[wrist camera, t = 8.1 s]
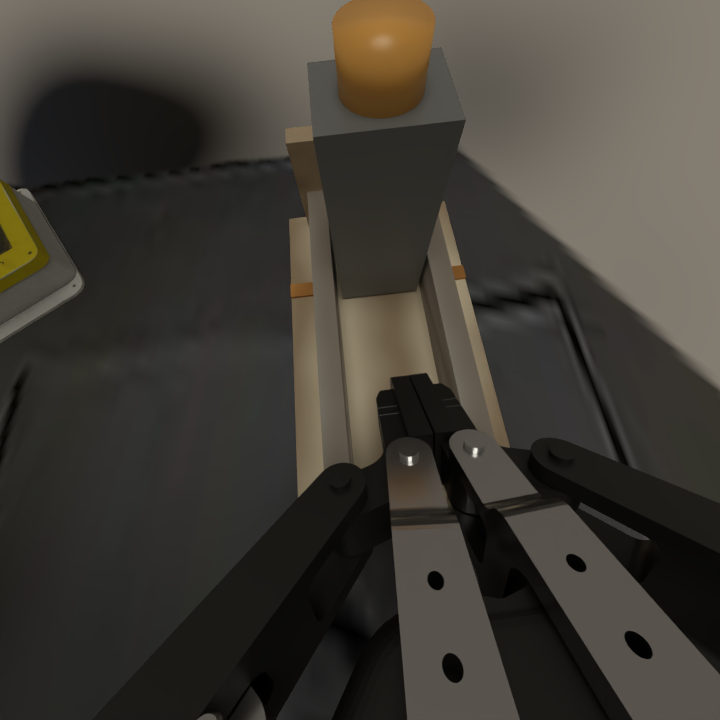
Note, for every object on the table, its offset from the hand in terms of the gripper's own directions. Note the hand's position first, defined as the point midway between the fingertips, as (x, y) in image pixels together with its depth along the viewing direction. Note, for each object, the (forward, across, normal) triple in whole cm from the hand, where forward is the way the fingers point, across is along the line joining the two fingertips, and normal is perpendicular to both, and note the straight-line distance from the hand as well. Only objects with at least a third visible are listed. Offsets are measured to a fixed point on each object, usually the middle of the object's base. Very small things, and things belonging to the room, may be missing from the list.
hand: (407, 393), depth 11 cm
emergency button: (+17, +31, -6) cm, 36 cm away
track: (+8, 0, +2) cm, 8 cm away
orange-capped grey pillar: (+10, 0, -4) cm, 11 cm away
